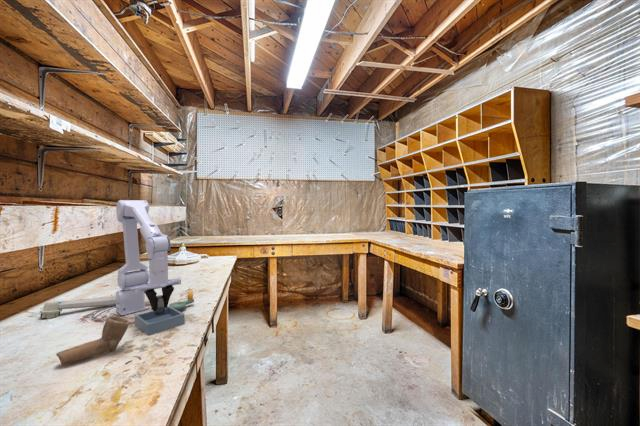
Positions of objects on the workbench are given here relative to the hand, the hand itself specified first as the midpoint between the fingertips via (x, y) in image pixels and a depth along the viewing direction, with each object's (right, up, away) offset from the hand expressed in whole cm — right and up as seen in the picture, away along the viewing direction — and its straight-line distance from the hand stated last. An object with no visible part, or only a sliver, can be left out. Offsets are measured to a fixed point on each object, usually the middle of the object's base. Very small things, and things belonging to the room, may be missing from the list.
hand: (159, 308), depth 104 cm
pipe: (-7, -7, -21) cm, 23 cm away
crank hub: (0, -5, +14) cm, 15 cm away
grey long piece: (-38, -6, +13) cm, 40 cm away
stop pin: (0, -2, 0) cm, 2 cm away
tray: (0, -6, 0) cm, 6 cm away
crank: (+1, -4, +15) cm, 16 cm away
